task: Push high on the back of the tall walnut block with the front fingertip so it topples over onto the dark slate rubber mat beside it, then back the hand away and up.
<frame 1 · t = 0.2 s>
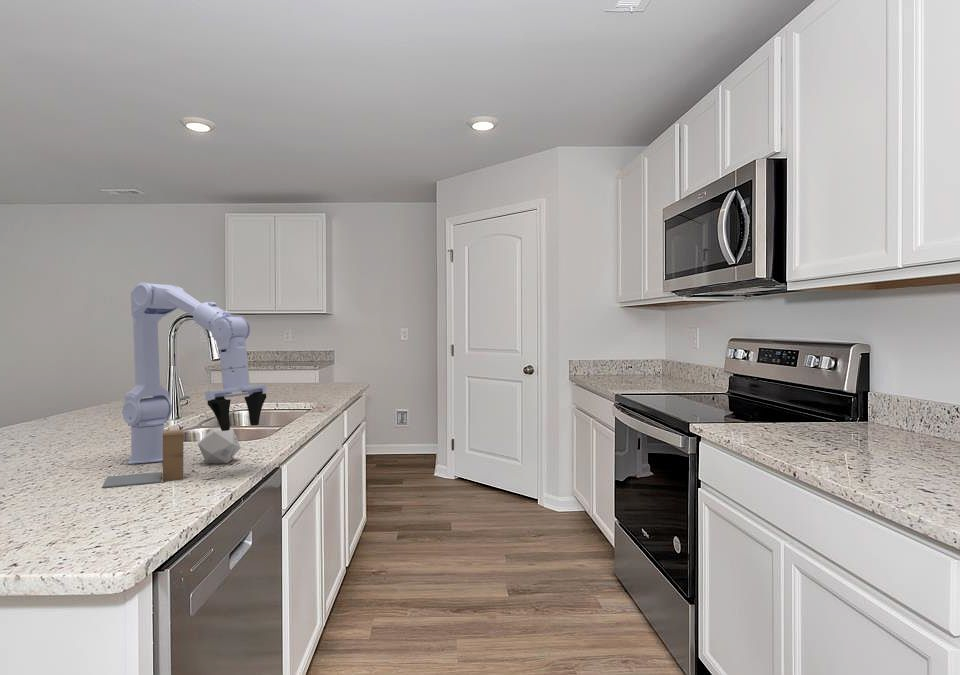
hand: (240, 427, 135), 10 cm above the countertop, tool pointing down, fingers open, 7 cm apart
die: (219, 462, 147), on the countertop
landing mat: (133, 480, 128), on the countertop
walnut block: (173, 477, 131), on the countertop
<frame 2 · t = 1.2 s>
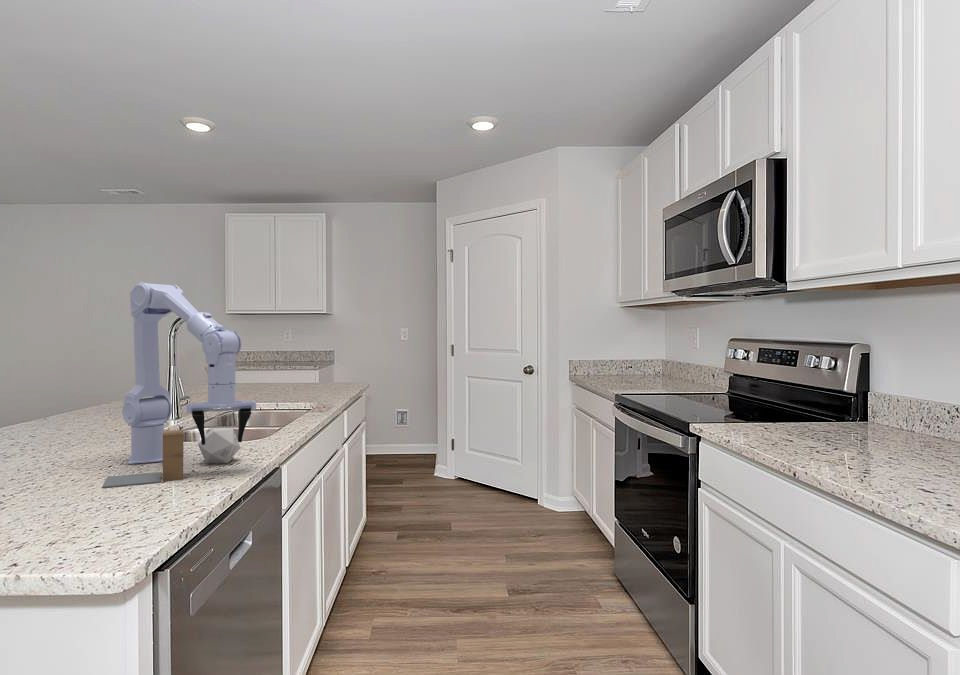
hand: (221, 442, 136), 7 cm above the countertop, tool pointing down, fingers open, 7 cm apart
nothing on the countertop moved.
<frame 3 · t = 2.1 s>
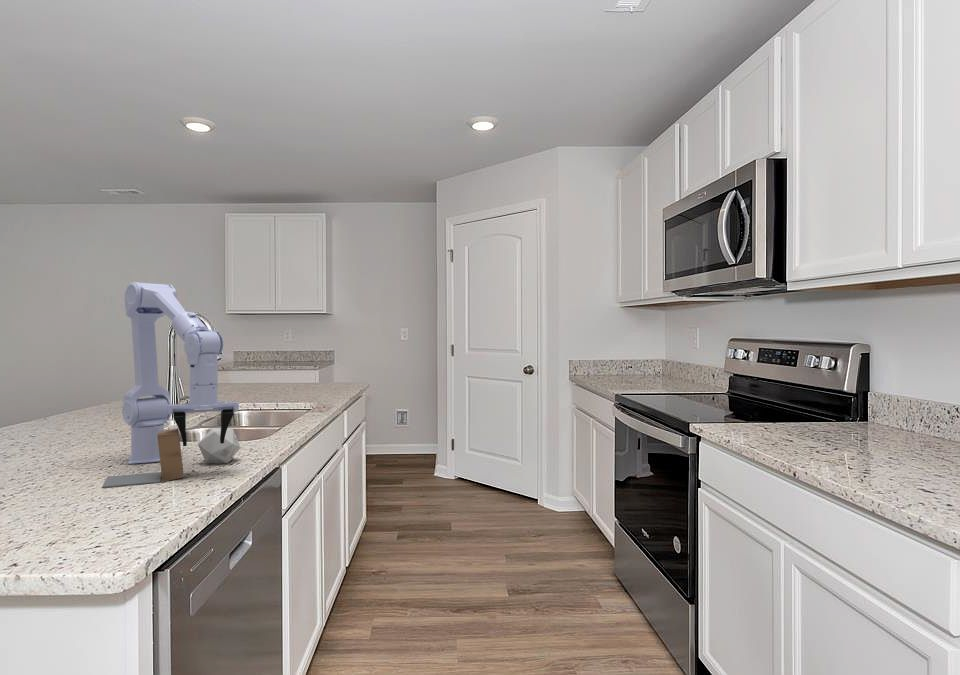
hand: (203, 444, 134), 7 cm above the countertop, tool pointing down, fingers open, 7 cm apart
walnut block: (173, 476, 131), on the countertop, tilted 6°, touching gripper
everything else where it was.
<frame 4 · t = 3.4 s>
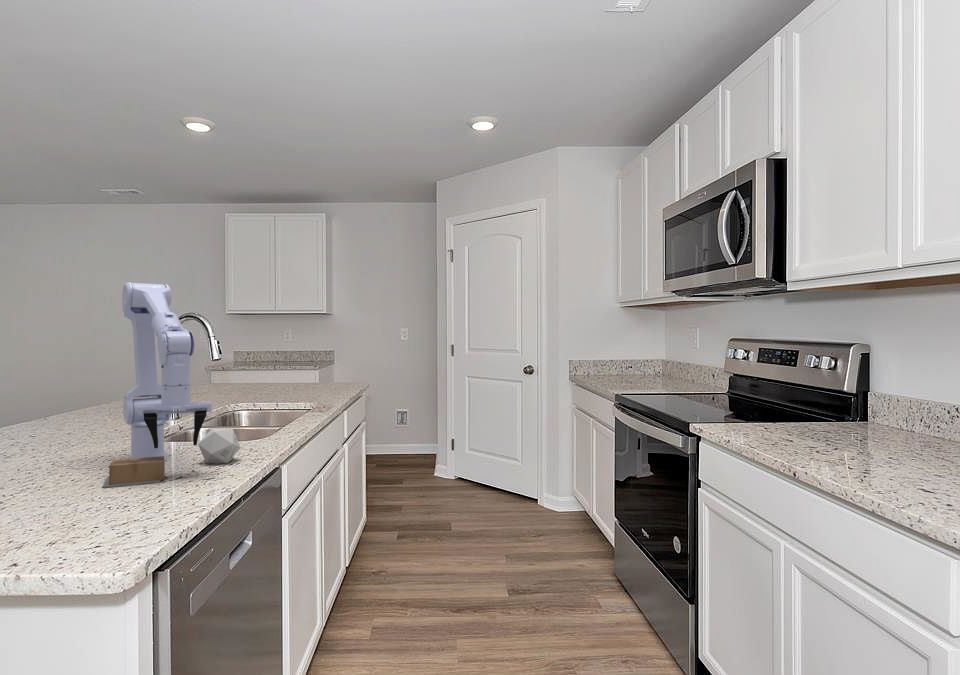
hand: (175, 446, 131), 7 cm above the countertop, tool pointing down, fingers open, 7 cm apart
walnut block: (164, 467, 130), point 2 cm above the countertop, tilted 90°, touching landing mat
everything else where it was.
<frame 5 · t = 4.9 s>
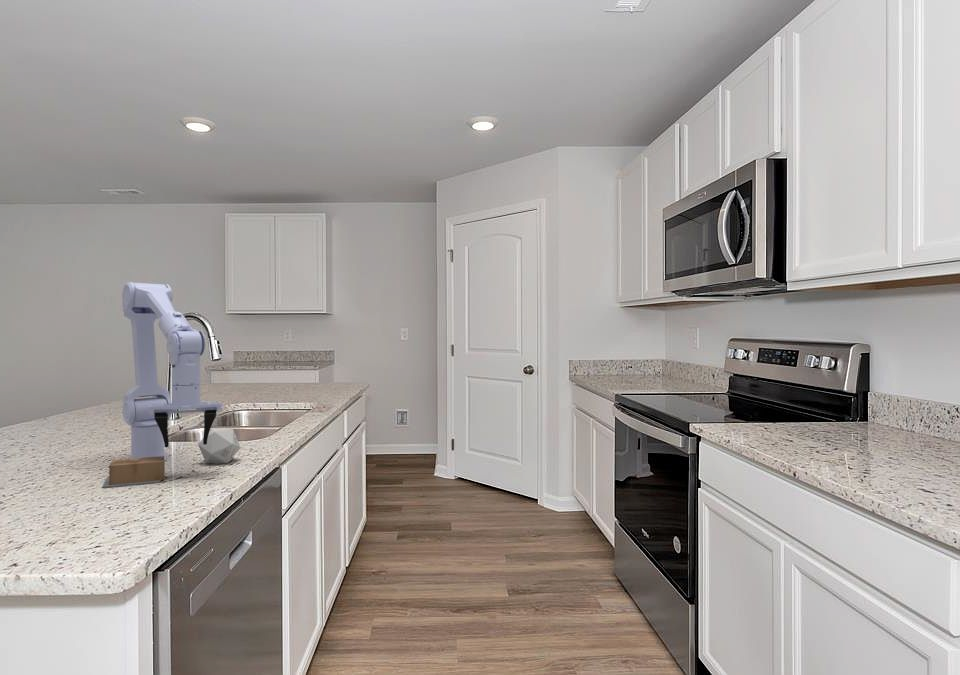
hand: (186, 445, 132), 7 cm above the countertop, tool pointing down, fingers open, 7 cm apart
nothing on the countertop moved.
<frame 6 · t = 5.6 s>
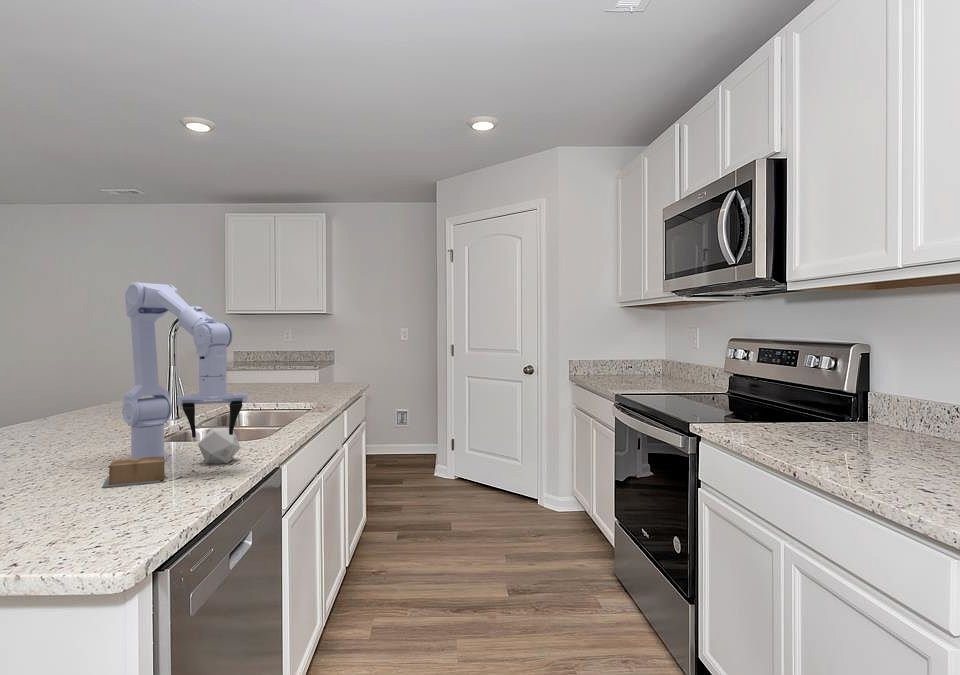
hand: (212, 435, 135), 9 cm above the countertop, tool pointing down, fingers open, 7 cm apart
nothing on the countertop moved.
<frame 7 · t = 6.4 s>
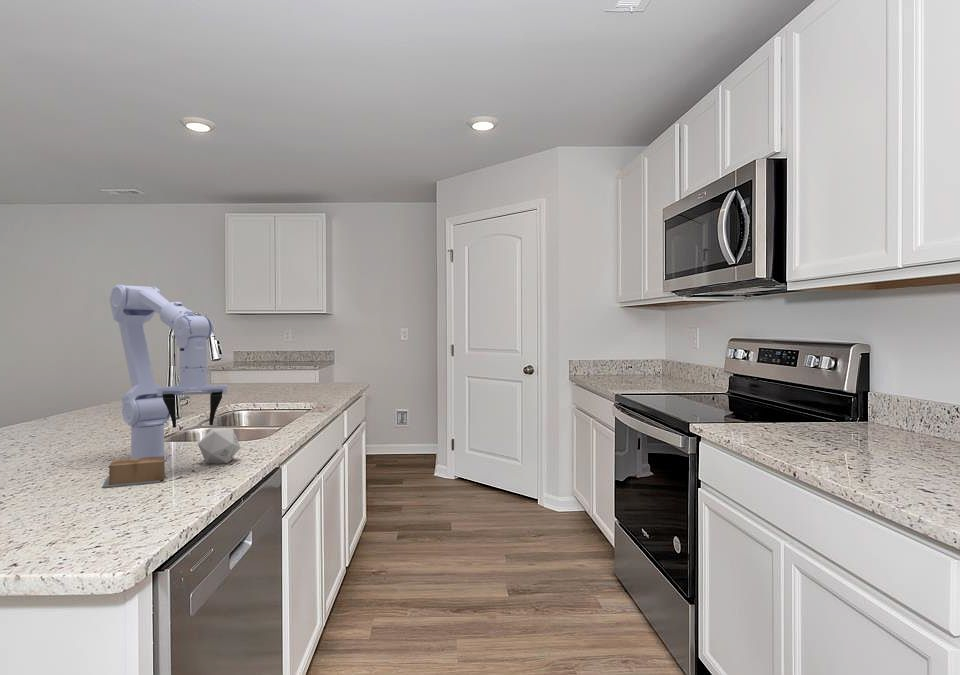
hand: (193, 425, 137), 10 cm above the countertop, tool pointing down, fingers open, 7 cm apart
nothing on the countertop moved.
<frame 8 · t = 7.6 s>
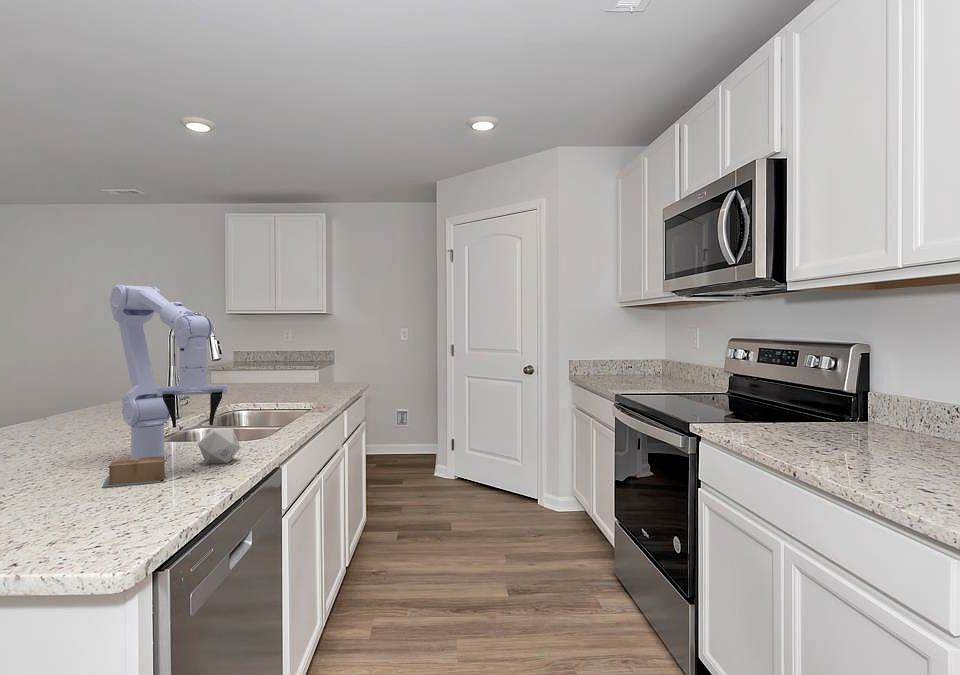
hand: (193, 425, 137), 10 cm above the countertop, tool pointing down, fingers open, 7 cm apart
nothing on the countertop moved.
at the end: walnut block tilted 90°; walnut block inside the target area (1.7 cm from its centre), point 2.3 cm above the countertop; the gripper is holding nothing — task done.
